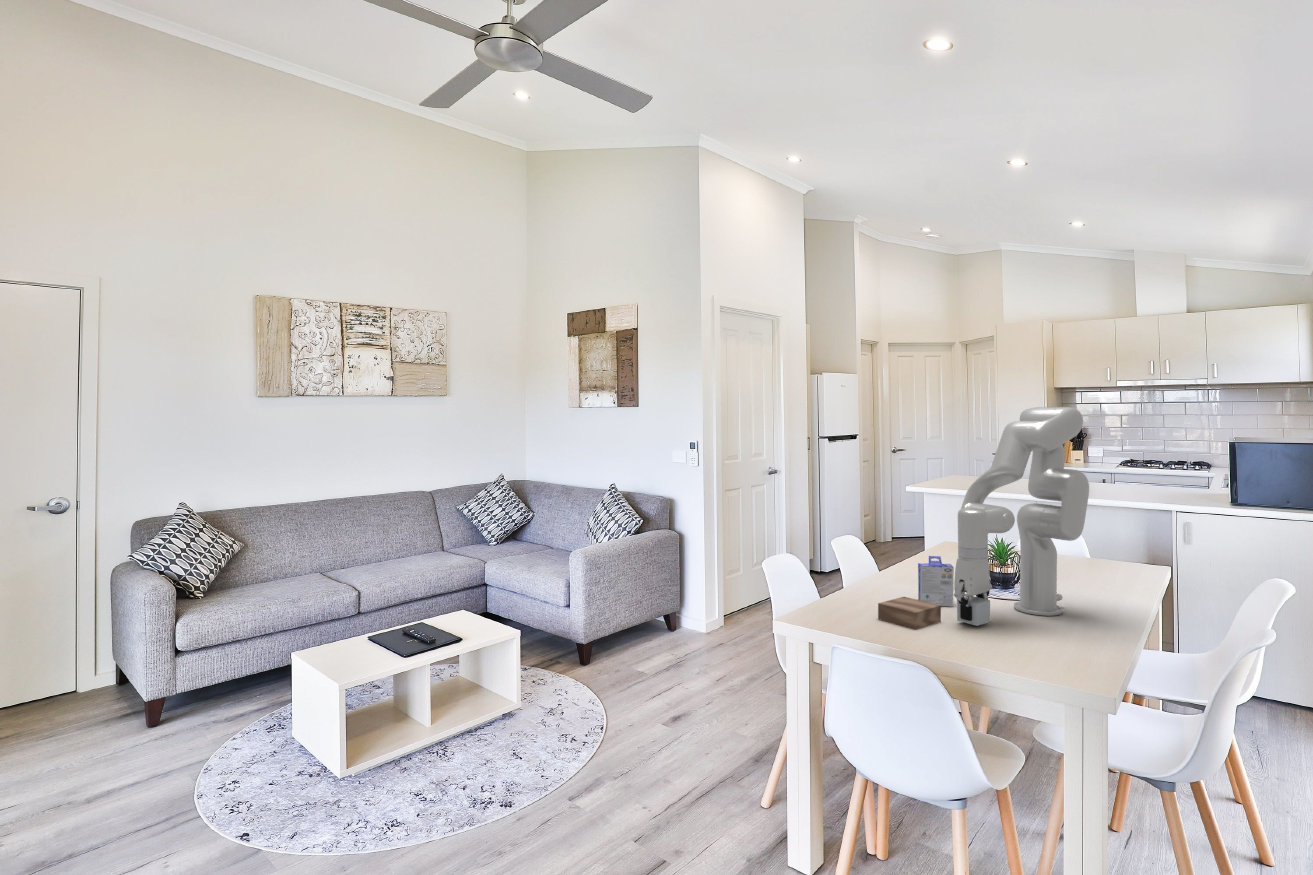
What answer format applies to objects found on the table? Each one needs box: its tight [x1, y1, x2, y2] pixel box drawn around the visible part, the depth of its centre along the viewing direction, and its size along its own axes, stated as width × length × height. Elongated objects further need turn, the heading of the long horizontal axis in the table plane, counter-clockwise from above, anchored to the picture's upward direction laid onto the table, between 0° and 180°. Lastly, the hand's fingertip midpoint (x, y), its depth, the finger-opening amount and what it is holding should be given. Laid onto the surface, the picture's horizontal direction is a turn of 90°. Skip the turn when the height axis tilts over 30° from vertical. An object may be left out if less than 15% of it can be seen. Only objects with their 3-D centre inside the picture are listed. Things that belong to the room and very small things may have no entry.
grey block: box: [956, 595, 991, 627], centre depth 194 cm, size 6×6×6 cm
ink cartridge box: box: [917, 555, 955, 607], centre depth 215 cm, size 10×6×14 cm, turn 79°
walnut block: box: [877, 596, 942, 630], centre depth 199 cm, size 12×12×5 cm
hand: (973, 616), depth 195 cm, fingers closed on grey block, 6 cm apart
